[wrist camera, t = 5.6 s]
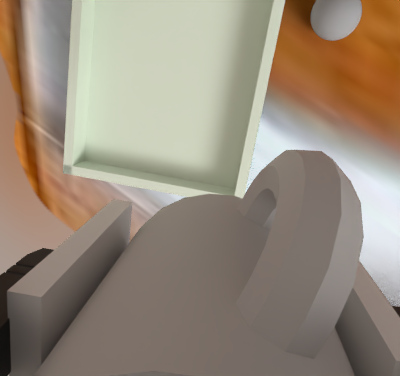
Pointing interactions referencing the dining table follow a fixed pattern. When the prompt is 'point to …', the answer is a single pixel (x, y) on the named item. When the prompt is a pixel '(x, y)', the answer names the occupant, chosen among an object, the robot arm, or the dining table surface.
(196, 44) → the tray
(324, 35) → the mixing ball
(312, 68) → the dining table surface
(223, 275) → the cup
